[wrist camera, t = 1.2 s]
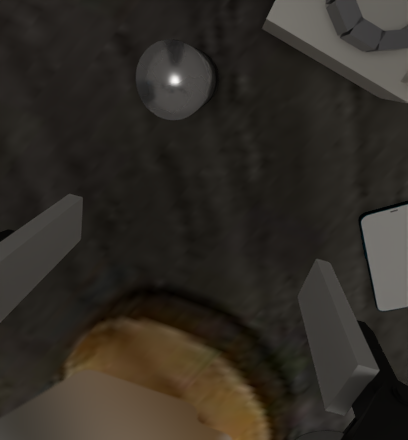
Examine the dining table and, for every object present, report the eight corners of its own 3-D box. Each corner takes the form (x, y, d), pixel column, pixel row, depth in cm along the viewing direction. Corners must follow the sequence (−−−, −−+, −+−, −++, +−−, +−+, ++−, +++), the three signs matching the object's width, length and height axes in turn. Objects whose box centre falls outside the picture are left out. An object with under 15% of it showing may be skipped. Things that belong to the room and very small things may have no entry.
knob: (162, 91, 33) (125, 99, 22) (182, 40, 30) (151, 22, 20) (205, 114, 33) (189, 133, 23) (228, 66, 31) (221, 62, 20)
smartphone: (436, 296, 41) (427, 194, 35) (440, 301, 40) (431, 197, 34) (374, 308, 43) (355, 213, 37) (377, 313, 42) (357, 217, 36)
